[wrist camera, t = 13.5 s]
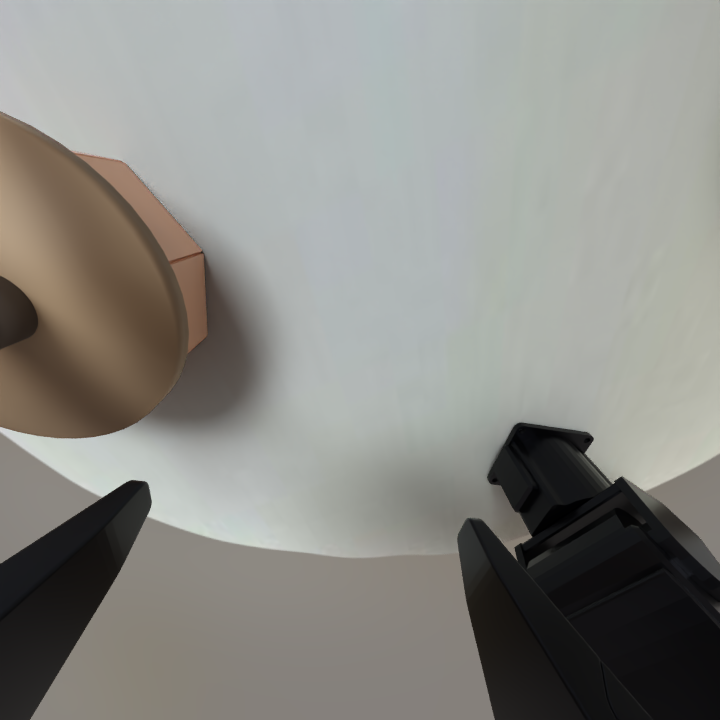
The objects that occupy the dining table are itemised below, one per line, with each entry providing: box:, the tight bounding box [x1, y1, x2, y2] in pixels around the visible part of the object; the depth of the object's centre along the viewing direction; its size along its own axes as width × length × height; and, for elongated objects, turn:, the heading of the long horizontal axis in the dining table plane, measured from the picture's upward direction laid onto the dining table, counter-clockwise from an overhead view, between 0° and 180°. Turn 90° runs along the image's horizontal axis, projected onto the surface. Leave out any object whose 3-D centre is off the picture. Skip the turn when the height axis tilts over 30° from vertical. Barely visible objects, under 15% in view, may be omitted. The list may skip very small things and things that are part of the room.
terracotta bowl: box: [70, 150, 208, 354], centre depth 16 cm, size 13×13×4 cm
